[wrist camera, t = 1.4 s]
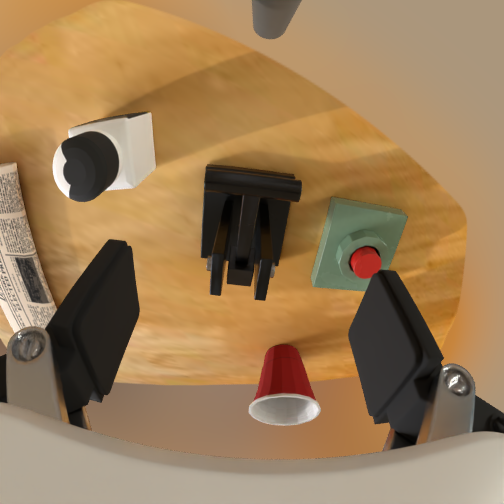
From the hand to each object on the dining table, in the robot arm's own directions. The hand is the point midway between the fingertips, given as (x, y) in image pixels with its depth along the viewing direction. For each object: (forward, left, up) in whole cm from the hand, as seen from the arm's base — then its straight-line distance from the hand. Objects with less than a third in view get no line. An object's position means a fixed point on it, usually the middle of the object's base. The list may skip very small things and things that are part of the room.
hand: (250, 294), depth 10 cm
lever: (+4, 0, -14) cm, 15 cm away
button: (+11, +15, -22) cm, 29 cm away
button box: (+11, +15, -26) cm, 32 cm away
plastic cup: (+34, +9, -26) cm, 44 cm away
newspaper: (+22, -42, -26) cm, 54 cm away
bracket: (+9, 0, -26) cm, 27 cm away
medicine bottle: (+1, -15, -26) cm, 30 cm away
